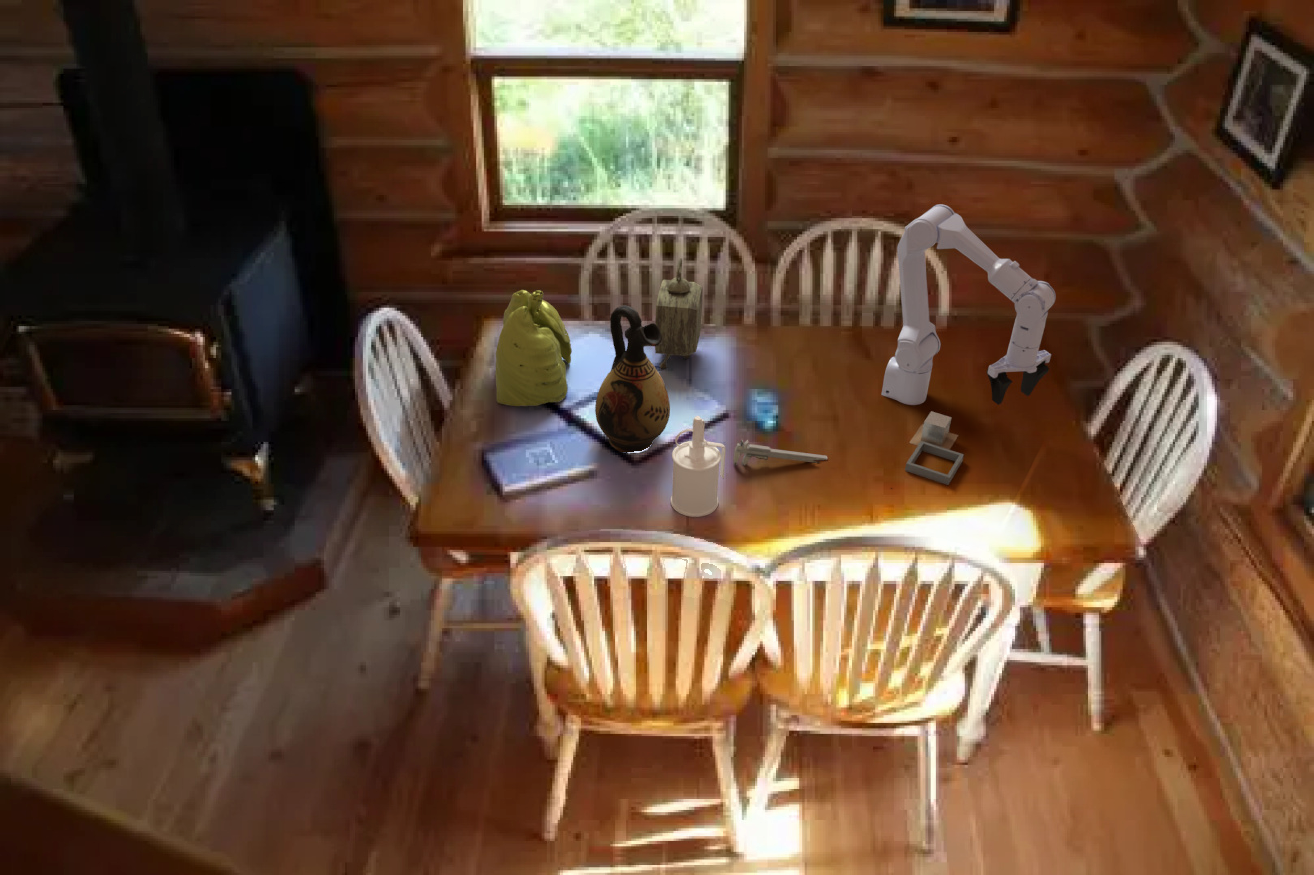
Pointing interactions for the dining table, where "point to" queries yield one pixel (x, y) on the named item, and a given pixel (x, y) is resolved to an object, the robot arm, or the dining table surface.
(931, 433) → the grey block
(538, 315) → the lungs
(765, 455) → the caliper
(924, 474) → the bin
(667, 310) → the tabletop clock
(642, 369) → the ceramic jug
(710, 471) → the white cylinder with rod
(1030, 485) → the dining table surface
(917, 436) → the stud plate
